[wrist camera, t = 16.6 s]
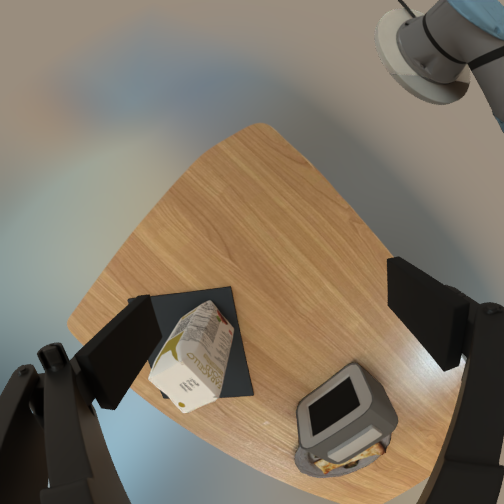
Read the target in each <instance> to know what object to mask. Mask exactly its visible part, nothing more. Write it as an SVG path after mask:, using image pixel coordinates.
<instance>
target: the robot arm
mask: <svg viewBox="0 0 504 504" xmlns="http://www.w3.org/2000/svg"><path fill="white" fill-rule="evenodd" d="M398 1H399V2H400V3H401V4H402V6H403V7H404V8H405V9H406V10H407V11H408V13H409V14H410V15H411V16H412V19H409V20H407V21H405V22H404V23H403V24H402V25H401V26H400V27H399V28H398V30H397V33H396V42H397V46H398V49H399V51H400V53H401V55H402V57H403V59H404V60H405V61H406V63H407V64H408V65H409V66H410V68H411V69H412V70H413V71H415V72H416V73H417V74H418V75H419V76H421V77H422V78H424V79H425V80H427V81H429V82H431V83H434V84H438V85H446V84H449V83H451V82H453V81H455V80H456V79H457V78H458V77H459V76H460V75H461V74H462V73H463V72H464V71H463V72H462V70H463V69H464V67H465V66H466V64H468V66H469V68H470V69H471V71H472V73H473V75H474V76H475V78H476V80H477V82H478V84H479V85H480V87H481V89H482V91H483V93H484V95H485V97H486V99H487V101H488V103H489V105H490V107H491V109H492V112H493V115H494V116H495V118H496V119H497V121H498V123H499V125H500V127H501V130H502V131H503V133H504V6H503V5H502V4H501V3H500V2H499V1H498V0H439V1H438V2H437V3H436V4H435V5H434V6H433V7H432V8H431V9H430V10H429V11H428V12H427V13H426V14H425V15H422V16H419V17H416V16H415V15H414V13H413V12H412V11H411V10H410V9H409V8H408V7H407V5H406V4H405V3H404V2H403V1H402V0H398ZM387 281H388V306H389V308H390V309H391V310H392V311H393V312H394V313H395V314H396V315H397V317H398V318H399V319H400V320H401V321H402V322H403V323H404V325H405V326H406V327H407V328H408V329H409V330H410V331H411V333H412V334H413V335H414V336H415V337H416V338H417V340H418V341H419V342H420V343H421V344H422V346H423V347H424V348H425V349H426V350H427V352H428V353H429V354H430V355H431V356H432V358H433V359H434V360H435V361H436V362H437V364H438V365H439V366H440V367H441V369H442V370H443V371H447V370H450V369H452V368H455V367H457V366H459V364H460V359H461V355H462V353H463V354H464V355H465V356H466V357H467V360H466V364H465V368H464V372H463V376H462V380H461V381H462V383H461V387H460V391H459V395H458V399H457V403H456V406H455V410H454V413H453V416H452V420H451V423H450V426H449V429H448V432H447V435H446V438H445V441H444V443H443V446H442V449H441V451H440V454H439V456H438V459H437V461H436V464H435V466H434V468H433V471H432V473H431V475H430V477H429V480H428V482H427V484H426V486H425V488H424V490H423V492H422V494H421V496H420V498H419V500H418V502H417V504H496V503H497V499H498V496H499V493H500V489H501V485H502V481H503V476H504V466H502V465H499V459H500V454H501V448H502V443H503V437H504V307H503V306H501V305H499V304H497V303H491V302H489V303H482V304H479V303H477V302H476V301H474V300H473V299H471V298H470V297H468V296H466V295H465V294H464V293H461V291H459V290H458V289H456V288H454V287H451V286H448V285H443V284H442V283H440V282H439V281H437V280H436V279H434V278H432V277H431V276H429V275H428V274H426V273H425V272H423V271H422V270H420V269H418V268H417V267H415V266H414V265H412V264H410V263H409V262H407V261H406V260H404V259H402V258H401V257H394V258H388V259H387ZM161 339H162V333H161V330H160V327H159V324H158V321H157V318H156V315H155V311H154V308H153V305H152V301H151V298H150V294H149V295H141V296H137V297H136V298H135V299H134V300H133V301H132V302H131V303H130V304H128V305H127V306H126V307H125V308H124V309H123V310H122V311H121V312H120V313H119V314H118V315H116V316H115V317H114V318H113V319H112V320H111V321H110V322H109V323H108V324H107V325H106V326H105V327H103V328H102V329H101V330H100V331H99V332H98V333H97V334H96V335H95V336H94V337H93V338H92V339H91V340H90V341H89V342H88V343H87V344H86V345H84V346H83V347H82V348H81V349H80V350H79V351H78V352H77V353H76V354H75V355H74V357H73V358H72V359H71V360H70V361H69V359H68V356H67V354H66V352H65V350H64V348H63V345H62V344H61V343H52V344H49V345H46V346H44V347H43V348H41V349H40V350H39V351H38V353H37V355H38V358H39V360H40V362H41V364H42V366H43V368H44V370H45V373H41V374H38V373H37V371H36V369H35V368H34V366H33V365H31V364H28V365H22V366H20V367H18V369H17V370H15V371H14V373H13V374H12V376H11V378H10V379H9V381H8V383H7V385H6V386H5V388H4V390H3V392H2V394H1V396H0V504H131V502H130V500H129V498H128V496H127V494H126V492H125V490H124V487H123V485H122V483H121V481H120V478H119V476H118V474H117V471H116V469H115V466H114V464H113V461H112V459H111V456H110V453H109V451H108V448H107V445H106V442H105V439H104V436H103V434H102V430H101V427H100V424H99V421H98V417H97V414H96V411H95V409H94V407H93V405H92V402H93V400H94V399H95V398H96V400H97V402H98V403H99V405H100V407H101V408H103V409H110V410H115V409H116V408H117V406H118V405H119V403H120V401H121V400H122V398H123V397H124V395H125V394H126V392H127V390H128V389H129V388H130V386H131V384H132V383H133V381H134V380H135V378H136V377H137V375H138V374H139V372H140V371H141V369H142V368H143V366H144V365H145V363H146V362H147V360H148V359H149V357H150V355H151V354H152V352H153V351H154V349H155V348H156V346H157V345H158V343H159V342H160V340H161ZM30 408H31V409H30ZM31 410H32V411H33V413H32V411H31ZM48 479H49V483H50V488H48Z"/></svg>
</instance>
